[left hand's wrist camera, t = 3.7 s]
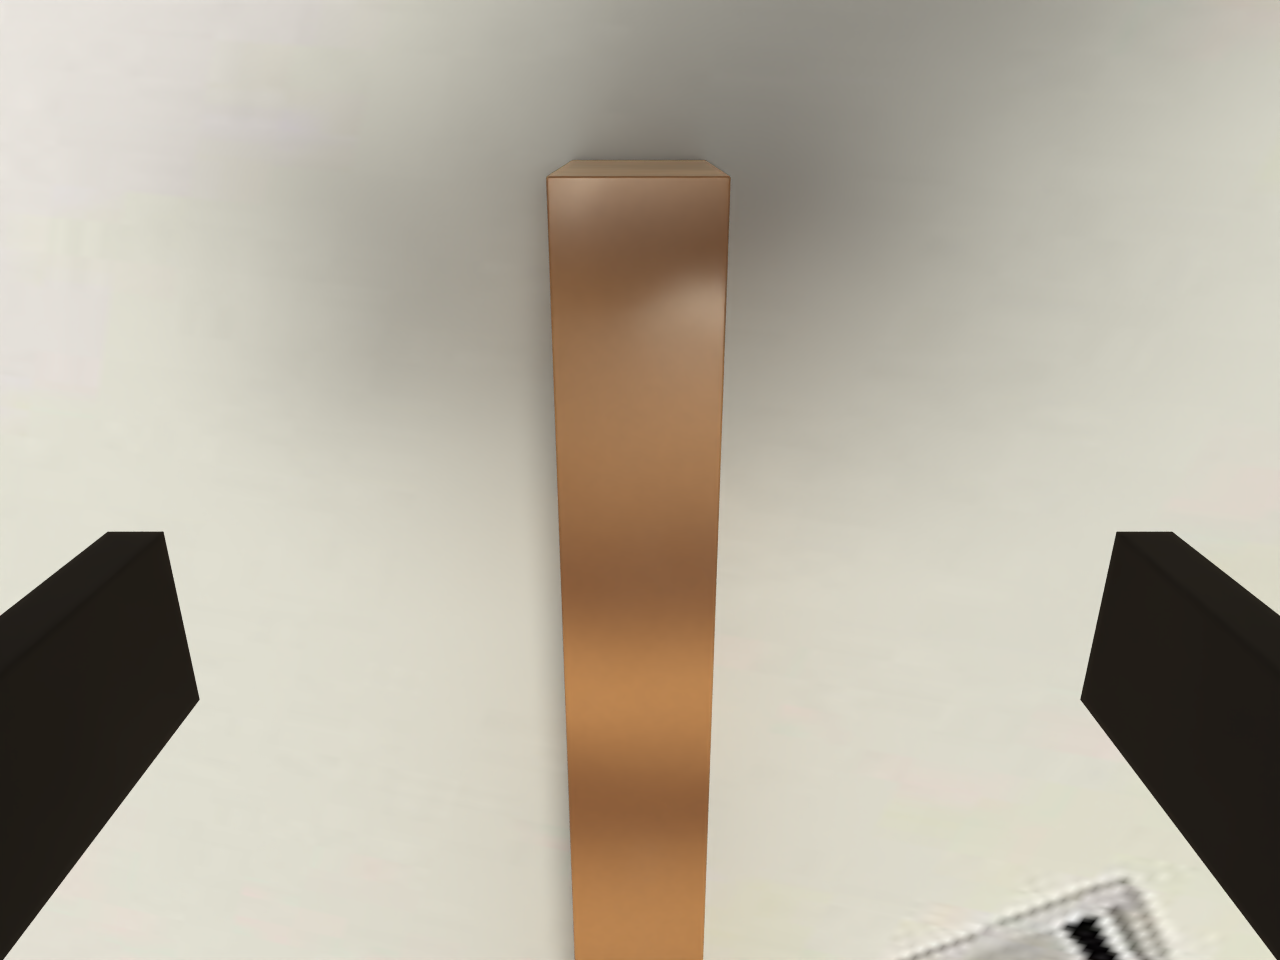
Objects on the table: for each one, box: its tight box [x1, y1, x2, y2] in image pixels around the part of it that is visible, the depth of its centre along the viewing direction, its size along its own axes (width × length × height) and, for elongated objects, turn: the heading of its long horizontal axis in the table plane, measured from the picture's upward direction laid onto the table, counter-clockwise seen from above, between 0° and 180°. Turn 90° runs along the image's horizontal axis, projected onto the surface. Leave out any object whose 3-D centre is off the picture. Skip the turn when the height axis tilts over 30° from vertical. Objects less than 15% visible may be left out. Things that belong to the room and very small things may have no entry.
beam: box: [546, 160, 731, 960], centre depth 37 cm, size 60×4×9 cm, turn 0°
